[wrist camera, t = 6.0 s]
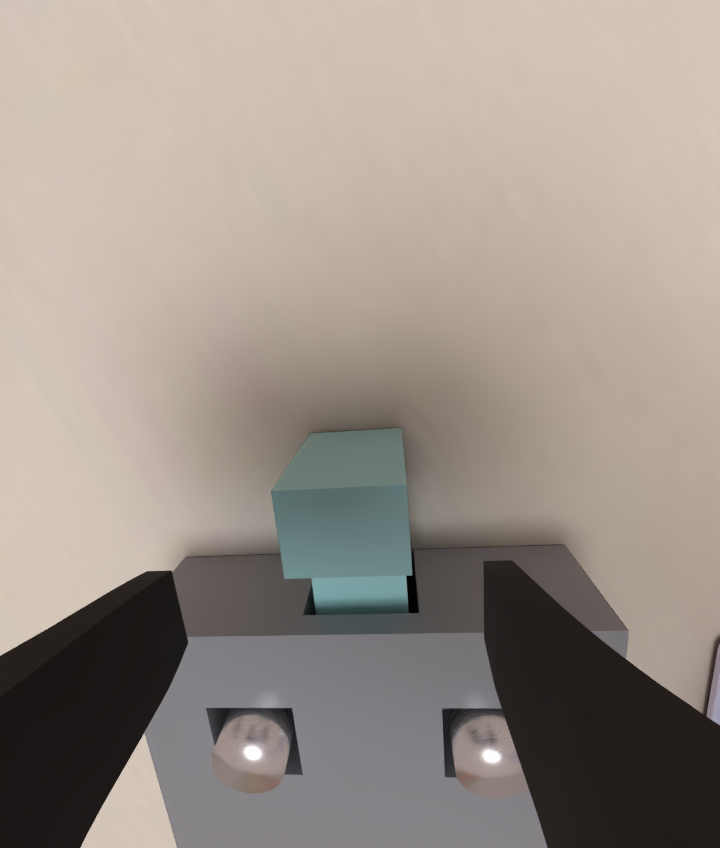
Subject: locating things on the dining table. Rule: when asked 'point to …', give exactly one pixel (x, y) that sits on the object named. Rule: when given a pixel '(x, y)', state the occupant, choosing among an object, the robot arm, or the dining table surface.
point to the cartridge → (347, 521)
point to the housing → (347, 704)
